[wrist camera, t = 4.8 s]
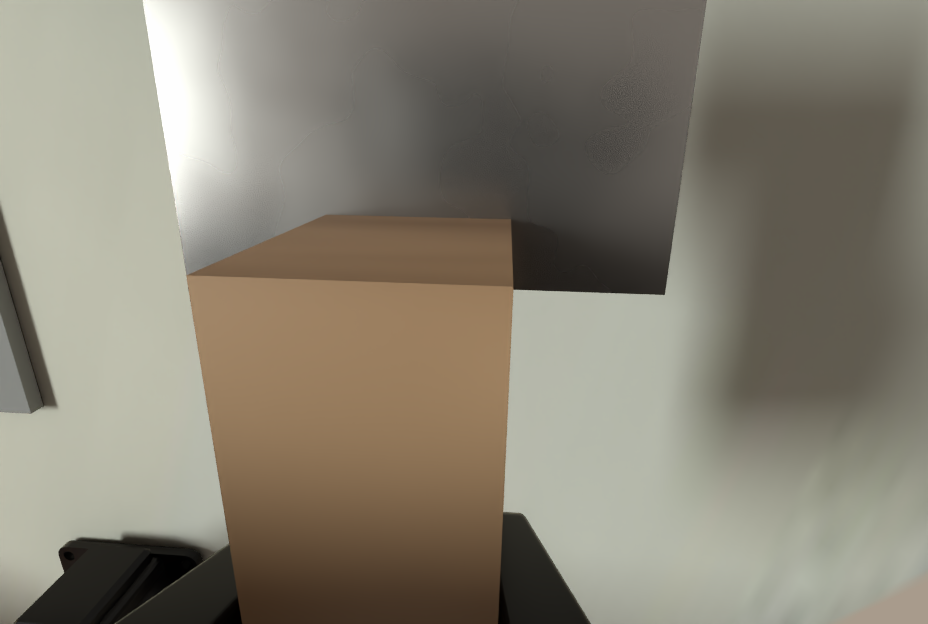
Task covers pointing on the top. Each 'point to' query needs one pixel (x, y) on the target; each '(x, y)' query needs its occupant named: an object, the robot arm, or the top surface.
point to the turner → (400, 262)
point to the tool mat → (14, 360)
